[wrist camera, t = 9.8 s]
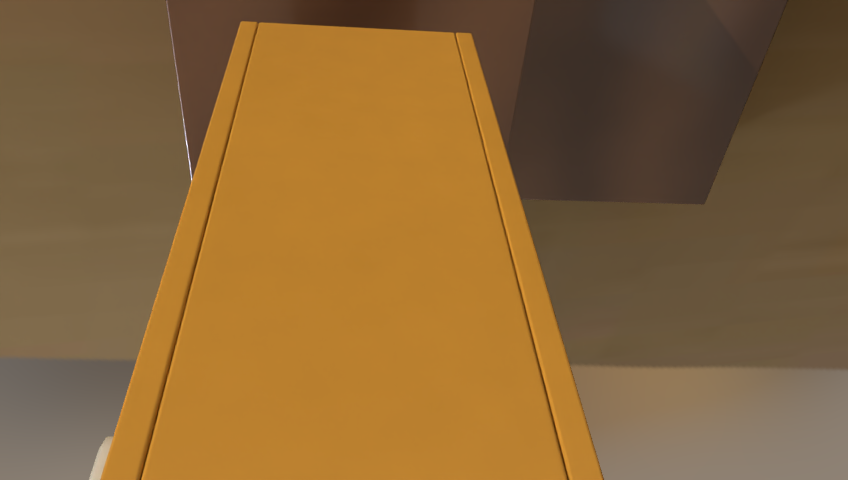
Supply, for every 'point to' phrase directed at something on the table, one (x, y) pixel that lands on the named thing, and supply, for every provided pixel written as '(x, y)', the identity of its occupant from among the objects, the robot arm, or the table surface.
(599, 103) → the wooden l-shaped block
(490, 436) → the book
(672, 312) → the table surface
